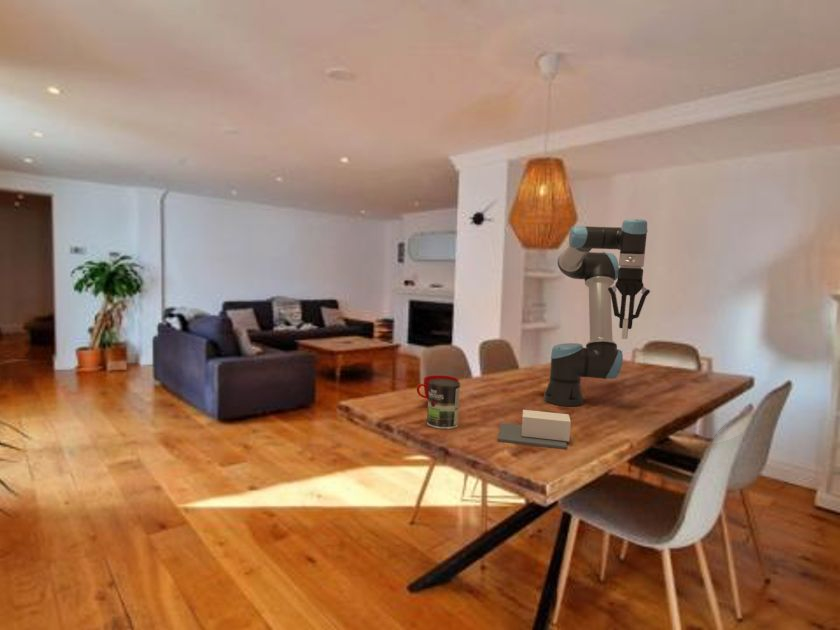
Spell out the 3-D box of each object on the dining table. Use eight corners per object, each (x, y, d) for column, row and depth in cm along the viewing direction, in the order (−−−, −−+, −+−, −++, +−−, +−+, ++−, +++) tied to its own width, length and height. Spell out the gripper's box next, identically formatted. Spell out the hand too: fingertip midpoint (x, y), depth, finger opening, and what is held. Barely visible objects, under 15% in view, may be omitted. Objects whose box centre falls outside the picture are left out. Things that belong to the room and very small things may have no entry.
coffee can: (443, 431, 152) (445, 387, 151) (420, 423, 159) (422, 381, 158) (464, 425, 159) (466, 383, 158) (441, 417, 167) (443, 377, 165)
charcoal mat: (497, 441, 145) (497, 438, 145) (500, 425, 161) (500, 422, 161) (567, 449, 141) (567, 446, 141) (563, 432, 157) (563, 429, 156)
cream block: (568, 414, 152) (522, 409, 155) (570, 421, 144) (522, 416, 147) (567, 433, 152) (521, 428, 155) (569, 442, 145) (521, 437, 148)
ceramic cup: (407, 403, 182) (408, 377, 181) (444, 399, 191) (445, 374, 190) (425, 413, 171) (427, 385, 170) (464, 407, 180) (465, 381, 179)
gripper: (608, 266, 159) (602, 337, 162) (651, 268, 153) (644, 342, 156) (611, 266, 165) (605, 334, 168) (653, 268, 159) (646, 339, 162)
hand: (624, 338), depth 162 cm, fingers closed
